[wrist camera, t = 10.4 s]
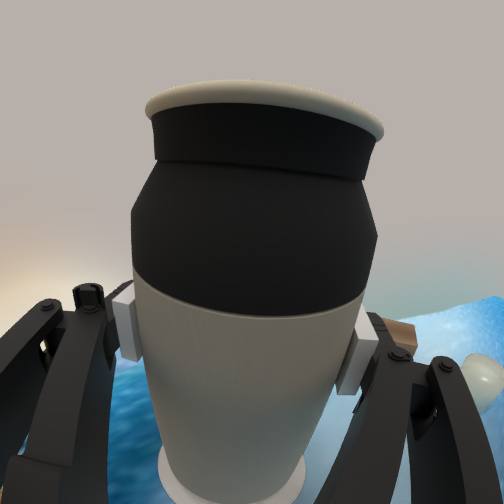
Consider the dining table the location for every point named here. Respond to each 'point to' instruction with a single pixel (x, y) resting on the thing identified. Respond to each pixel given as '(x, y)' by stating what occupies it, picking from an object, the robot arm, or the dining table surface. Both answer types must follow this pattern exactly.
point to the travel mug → (249, 274)
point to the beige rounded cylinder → (483, 379)
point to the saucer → (187, 500)
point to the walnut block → (402, 335)
